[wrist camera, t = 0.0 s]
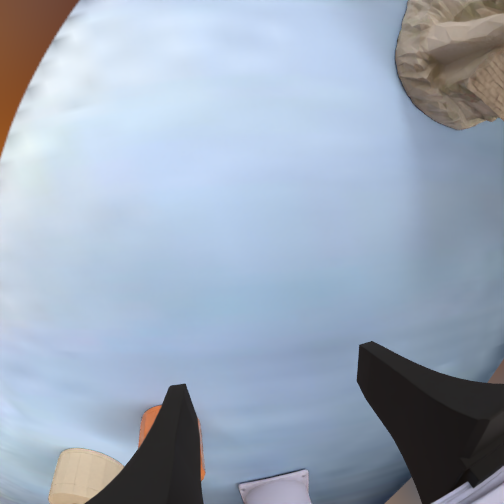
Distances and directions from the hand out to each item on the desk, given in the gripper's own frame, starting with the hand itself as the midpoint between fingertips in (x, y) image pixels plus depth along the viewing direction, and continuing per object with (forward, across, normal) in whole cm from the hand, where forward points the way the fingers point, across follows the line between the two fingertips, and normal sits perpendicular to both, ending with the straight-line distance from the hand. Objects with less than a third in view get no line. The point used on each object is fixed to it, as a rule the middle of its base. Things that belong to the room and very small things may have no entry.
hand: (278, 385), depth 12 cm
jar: (+10, +19, +19) cm, 29 cm away
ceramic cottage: (+10, -22, -16) cm, 29 cm away
